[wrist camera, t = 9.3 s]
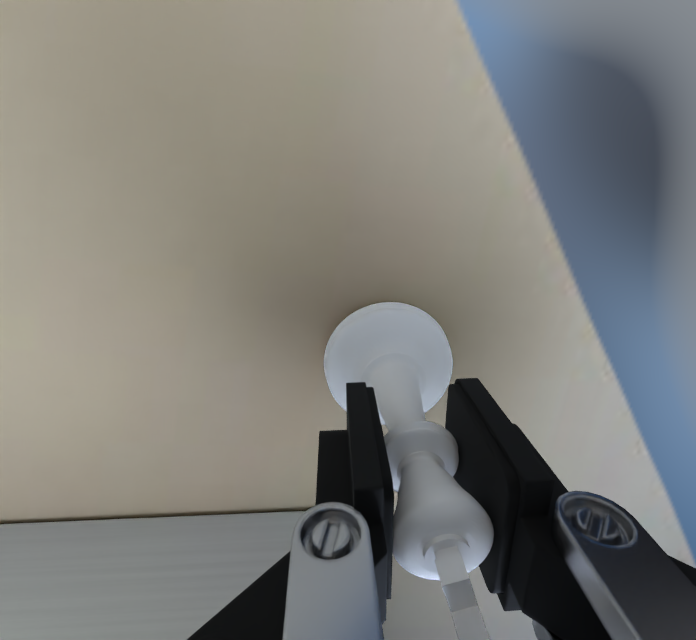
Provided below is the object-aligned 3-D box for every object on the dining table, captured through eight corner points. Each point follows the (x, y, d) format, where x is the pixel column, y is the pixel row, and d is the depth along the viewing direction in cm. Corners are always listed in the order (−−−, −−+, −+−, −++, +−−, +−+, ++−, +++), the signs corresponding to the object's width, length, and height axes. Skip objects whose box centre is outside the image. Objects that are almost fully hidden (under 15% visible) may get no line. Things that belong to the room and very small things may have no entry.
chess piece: (347, 431, 16) (369, 787, 6) (305, 326, 14) (253, 596, 5) (462, 395, 16) (663, 718, 6) (432, 283, 14) (642, 486, 5)
